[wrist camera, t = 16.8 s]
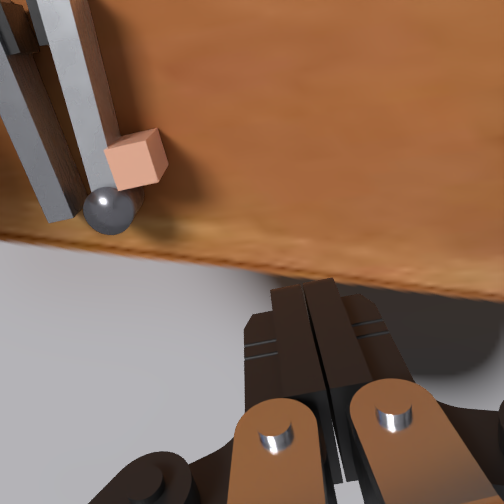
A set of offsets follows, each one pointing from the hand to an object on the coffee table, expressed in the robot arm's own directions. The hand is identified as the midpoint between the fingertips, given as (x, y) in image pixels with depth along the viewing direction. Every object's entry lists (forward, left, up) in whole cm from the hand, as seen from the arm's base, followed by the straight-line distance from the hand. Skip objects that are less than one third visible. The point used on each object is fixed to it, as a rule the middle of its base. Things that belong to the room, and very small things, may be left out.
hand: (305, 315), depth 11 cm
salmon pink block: (0, -9, -27) cm, 28 cm away
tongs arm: (-4, -12, -27) cm, 30 cm away
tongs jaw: (-5, -16, -27) cm, 32 cm away
